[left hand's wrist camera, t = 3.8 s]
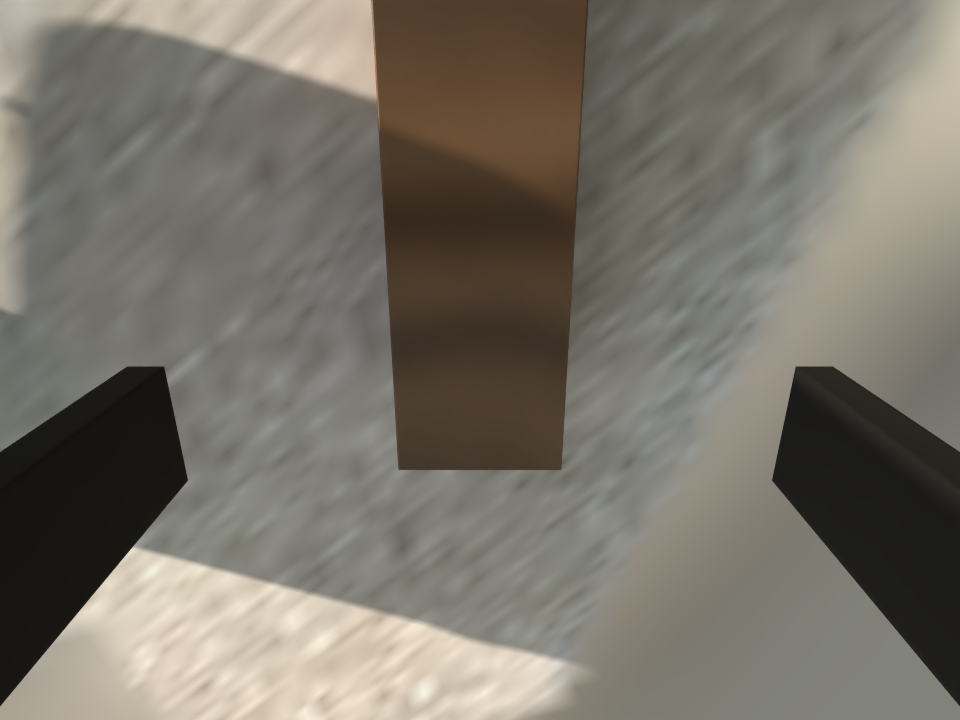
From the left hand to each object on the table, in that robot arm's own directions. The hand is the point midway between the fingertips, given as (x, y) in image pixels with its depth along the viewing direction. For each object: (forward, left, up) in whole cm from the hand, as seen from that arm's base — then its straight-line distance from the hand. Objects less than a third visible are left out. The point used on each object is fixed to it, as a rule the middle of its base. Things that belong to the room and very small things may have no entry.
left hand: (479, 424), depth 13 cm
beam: (+18, +30, -15) cm, 38 cm away
